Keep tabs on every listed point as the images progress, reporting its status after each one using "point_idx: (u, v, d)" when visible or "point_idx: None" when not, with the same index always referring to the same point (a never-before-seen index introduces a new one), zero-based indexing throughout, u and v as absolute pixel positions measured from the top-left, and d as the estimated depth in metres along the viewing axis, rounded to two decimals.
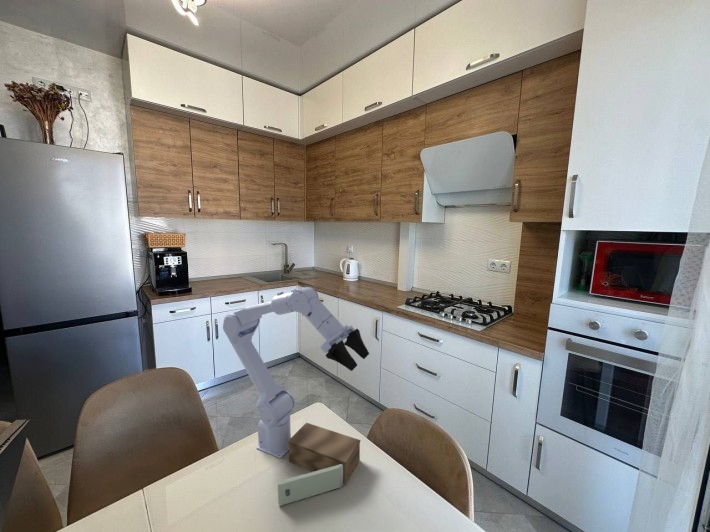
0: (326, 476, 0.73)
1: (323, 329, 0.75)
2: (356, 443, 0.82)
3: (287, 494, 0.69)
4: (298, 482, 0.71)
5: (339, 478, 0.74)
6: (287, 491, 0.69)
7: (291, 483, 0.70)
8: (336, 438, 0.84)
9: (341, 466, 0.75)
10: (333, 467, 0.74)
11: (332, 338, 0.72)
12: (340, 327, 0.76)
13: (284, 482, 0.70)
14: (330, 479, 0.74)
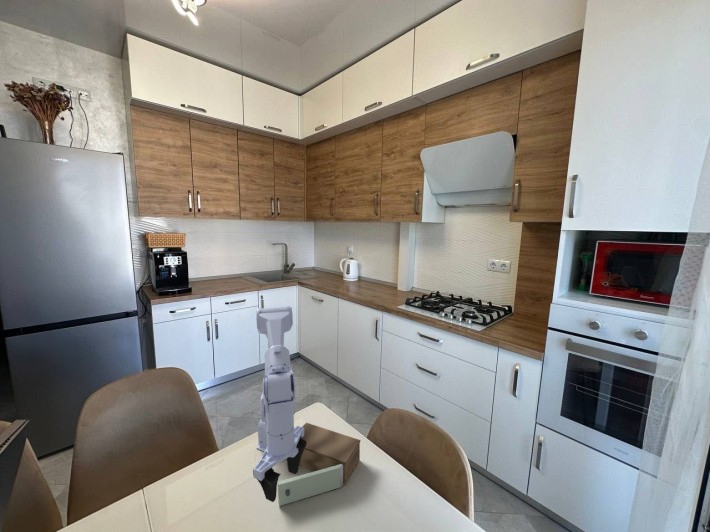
0: (326, 476, 0.73)
1: (272, 441, 0.61)
2: (356, 443, 0.82)
3: (287, 494, 0.69)
4: (298, 482, 0.71)
5: (339, 478, 0.74)
6: (287, 491, 0.69)
7: (291, 483, 0.70)
8: (336, 438, 0.84)
9: (341, 466, 0.75)
10: (333, 467, 0.74)
11: (272, 465, 0.59)
12: (290, 449, 0.62)
13: (284, 482, 0.70)
14: (330, 479, 0.74)
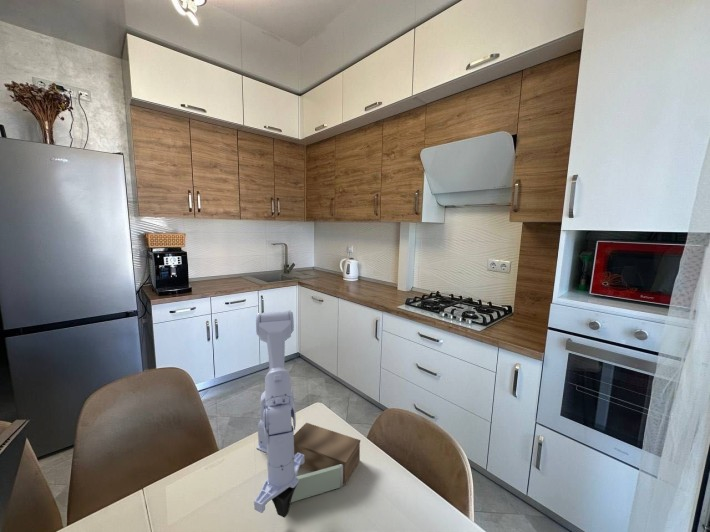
0: (326, 476, 0.73)
1: (272, 471, 0.62)
2: (356, 443, 0.82)
3: None
4: (298, 482, 0.71)
5: (339, 478, 0.74)
6: None
7: None
8: (336, 438, 0.84)
9: (341, 466, 0.75)
10: (333, 467, 0.74)
11: (272, 497, 0.60)
12: (290, 479, 0.63)
13: None
14: (330, 479, 0.74)
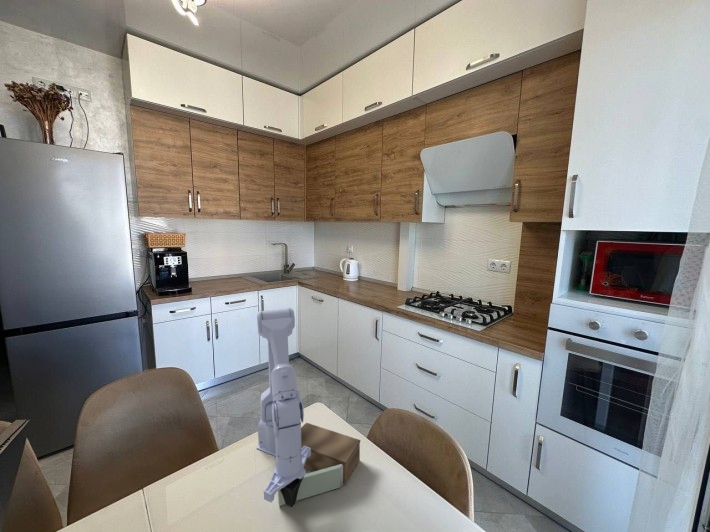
0: (326, 476, 0.73)
1: (281, 463, 0.64)
2: (356, 443, 0.82)
3: None
4: None
5: (339, 478, 0.74)
6: None
7: None
8: (336, 438, 0.84)
9: (341, 466, 0.75)
10: (333, 467, 0.74)
11: (281, 487, 0.62)
12: (297, 470, 0.65)
13: None
14: (330, 479, 0.74)
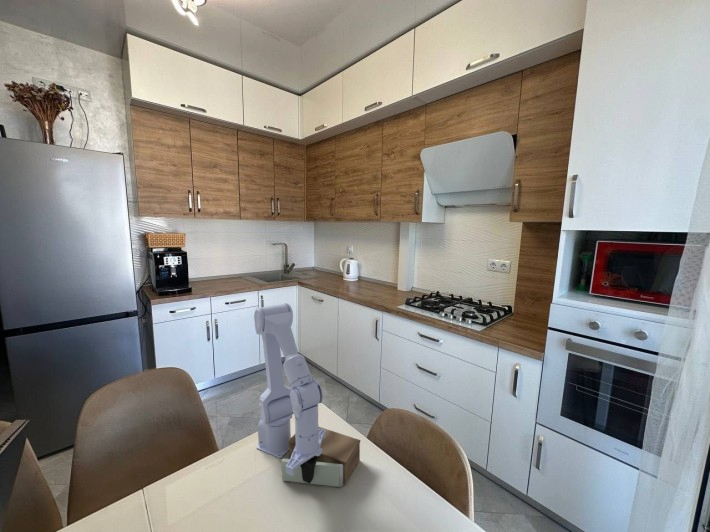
0: (325, 470, 0.75)
1: (300, 442, 0.71)
2: (356, 443, 0.82)
3: None
4: None
5: (339, 478, 0.75)
6: None
7: None
8: (336, 438, 0.84)
9: (341, 466, 0.74)
10: (333, 464, 0.75)
11: (301, 463, 0.69)
12: (315, 449, 0.72)
13: (287, 461, 0.76)
14: (329, 475, 0.75)
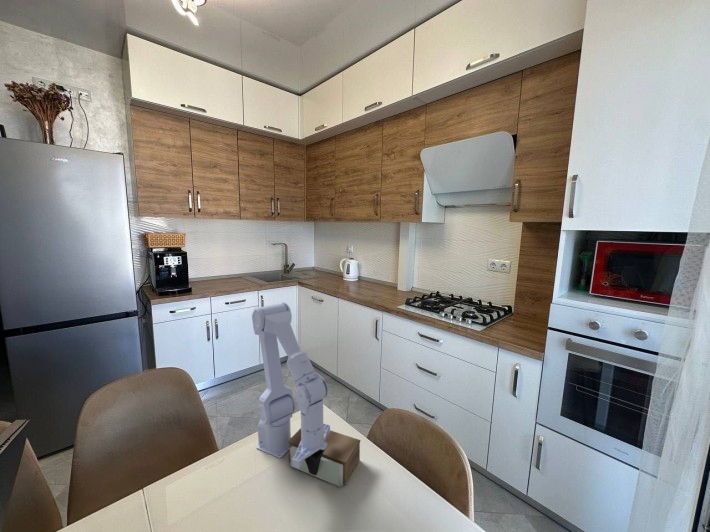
0: (326, 466, 0.76)
1: (306, 436, 0.73)
2: (356, 443, 0.82)
3: None
4: None
5: (338, 477, 0.75)
6: None
7: None
8: (336, 438, 0.84)
9: (340, 466, 0.74)
10: (334, 463, 0.76)
11: (307, 456, 0.71)
12: (320, 443, 0.74)
13: (295, 449, 0.81)
14: (330, 472, 0.76)
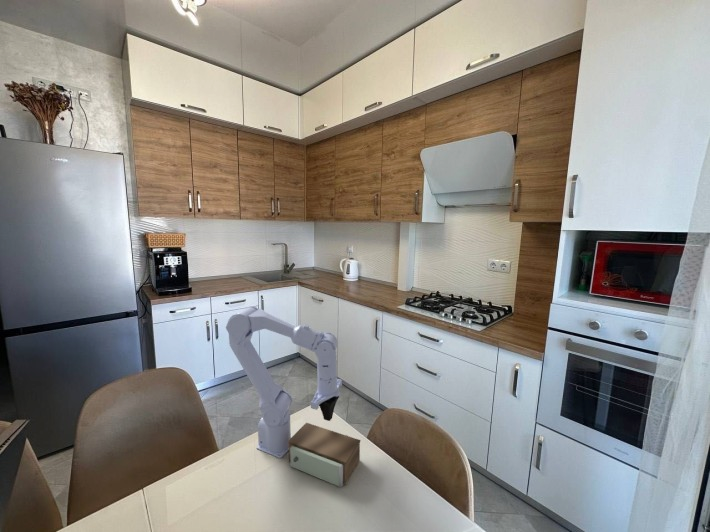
0: (326, 466, 0.76)
1: (322, 384, 0.84)
2: (356, 443, 0.82)
3: (294, 460, 0.80)
4: (304, 456, 0.79)
5: (338, 477, 0.75)
6: (295, 458, 0.80)
7: (299, 453, 0.80)
8: (336, 438, 0.84)
9: (340, 466, 0.74)
10: (334, 463, 0.76)
11: (323, 400, 0.82)
12: (334, 391, 0.85)
13: (295, 449, 0.81)
14: (330, 472, 0.76)
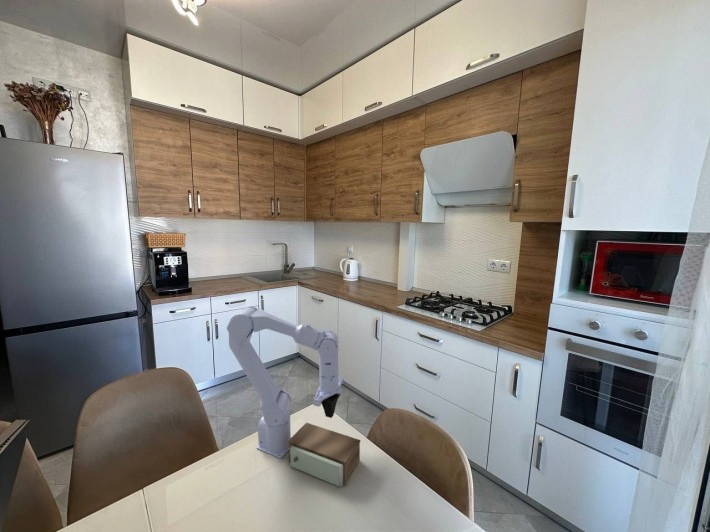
0: (326, 466, 0.76)
1: (324, 381, 0.85)
2: (356, 443, 0.82)
3: (294, 460, 0.80)
4: (304, 456, 0.79)
5: (338, 477, 0.75)
6: (295, 458, 0.80)
7: (299, 453, 0.80)
8: (336, 438, 0.84)
9: (340, 466, 0.74)
10: (334, 463, 0.76)
11: (325, 397, 0.84)
12: (336, 388, 0.87)
13: (295, 449, 0.81)
14: (330, 472, 0.76)
